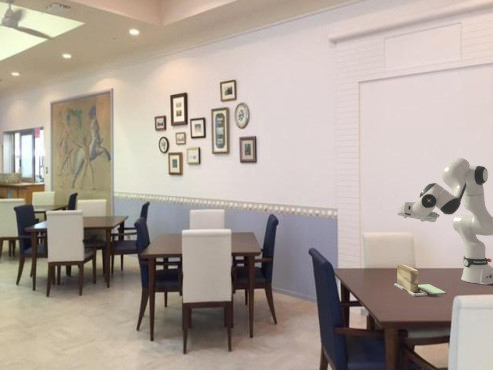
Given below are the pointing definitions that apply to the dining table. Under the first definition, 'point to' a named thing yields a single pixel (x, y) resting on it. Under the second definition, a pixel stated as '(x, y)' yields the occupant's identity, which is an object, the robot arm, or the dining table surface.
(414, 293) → the trap pen
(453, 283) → the dining table surface
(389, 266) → the dining table surface
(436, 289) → the pad
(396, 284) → the track
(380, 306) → the dining table surface
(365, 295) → the dining table surface
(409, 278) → the board
